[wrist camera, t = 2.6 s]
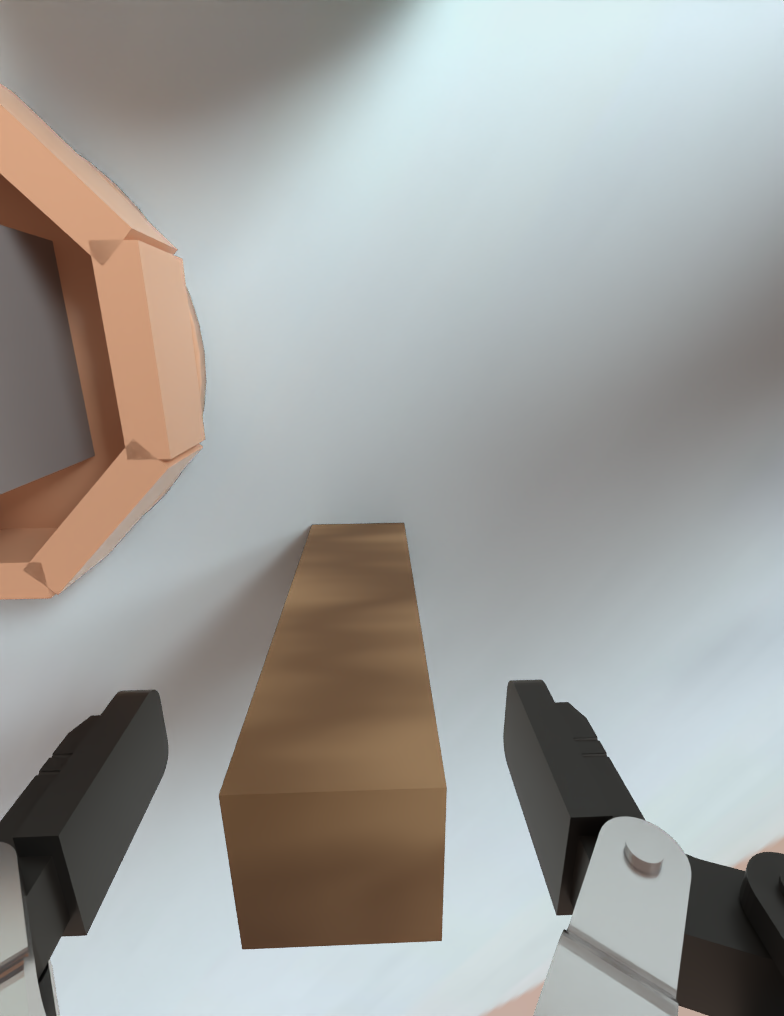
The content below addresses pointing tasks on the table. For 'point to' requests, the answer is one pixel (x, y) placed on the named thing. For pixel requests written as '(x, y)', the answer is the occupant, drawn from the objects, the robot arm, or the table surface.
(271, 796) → the brown long rectangular block
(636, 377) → the table surface
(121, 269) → the candle pot
